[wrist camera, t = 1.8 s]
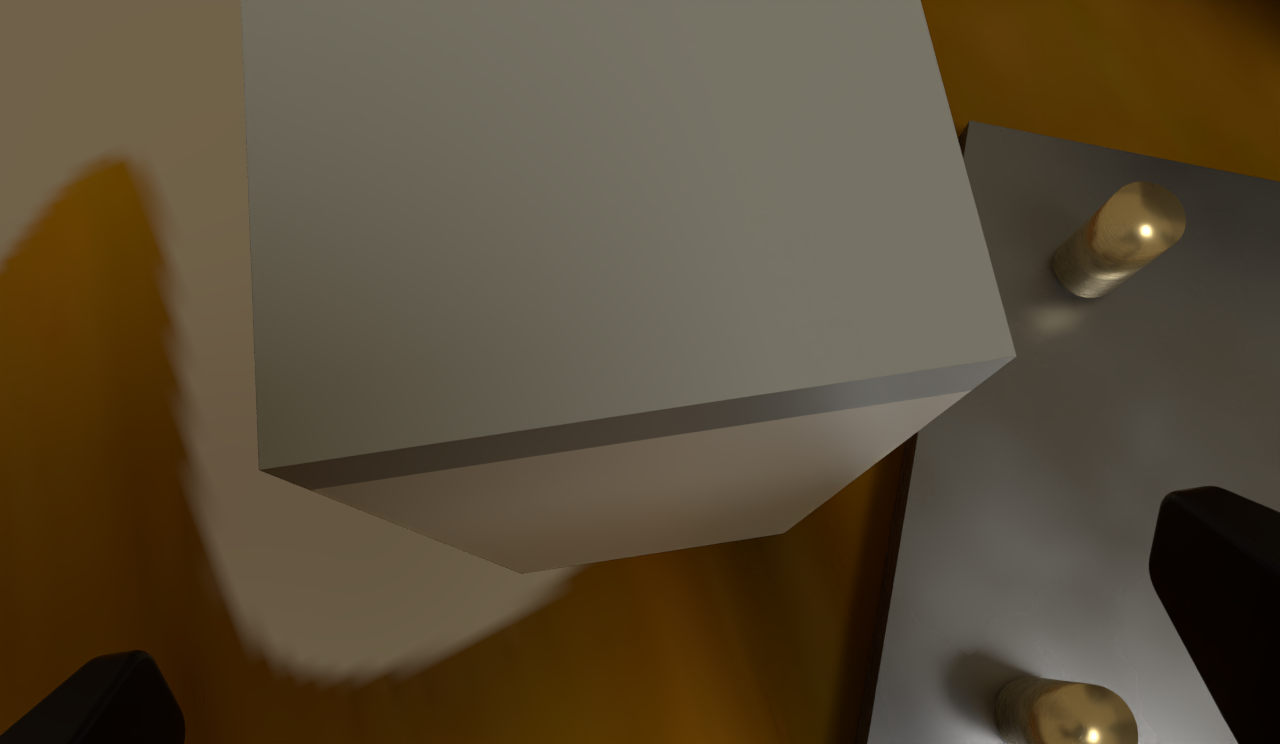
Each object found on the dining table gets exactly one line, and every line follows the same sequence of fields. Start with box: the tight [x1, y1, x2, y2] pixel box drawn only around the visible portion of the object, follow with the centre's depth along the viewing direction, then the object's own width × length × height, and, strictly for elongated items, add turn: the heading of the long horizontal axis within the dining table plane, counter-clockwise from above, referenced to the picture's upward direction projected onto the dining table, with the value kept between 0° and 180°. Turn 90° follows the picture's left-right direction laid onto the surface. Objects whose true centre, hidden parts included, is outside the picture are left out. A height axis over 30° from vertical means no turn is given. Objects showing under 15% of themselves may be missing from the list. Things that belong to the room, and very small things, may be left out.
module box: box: [241, 0, 1016, 574], centre depth 14 cm, size 6×6×13 cm
